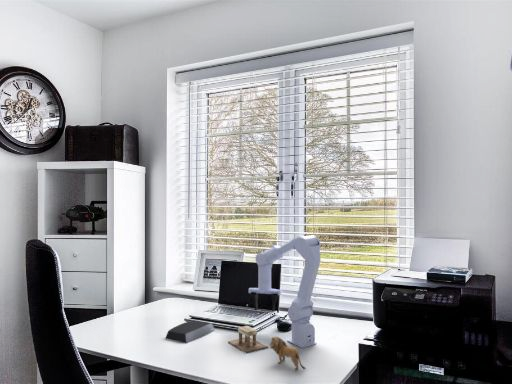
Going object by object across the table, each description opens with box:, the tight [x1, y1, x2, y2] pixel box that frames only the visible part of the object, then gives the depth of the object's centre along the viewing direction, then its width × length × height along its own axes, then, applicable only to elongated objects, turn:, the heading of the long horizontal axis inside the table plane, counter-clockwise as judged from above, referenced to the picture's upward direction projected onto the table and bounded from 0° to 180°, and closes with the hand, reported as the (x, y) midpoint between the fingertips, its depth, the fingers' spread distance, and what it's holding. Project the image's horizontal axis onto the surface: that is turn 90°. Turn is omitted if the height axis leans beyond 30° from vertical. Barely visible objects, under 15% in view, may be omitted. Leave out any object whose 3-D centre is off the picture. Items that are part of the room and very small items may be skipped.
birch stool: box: [237, 325, 258, 347], centre depth 174 cm, size 4×7×6 cm, turn 34°
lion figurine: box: [268, 336, 306, 371], centre depth 154 cm, size 15×5×9 cm, turn 52°
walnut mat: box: [227, 337, 269, 354], centre depth 174 cm, size 14×10×1 cm
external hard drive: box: [165, 319, 215, 344], centre depth 187 cm, size 13×19×4 cm
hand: (264, 310), depth 192 cm, fingers open, 7 cm apart
